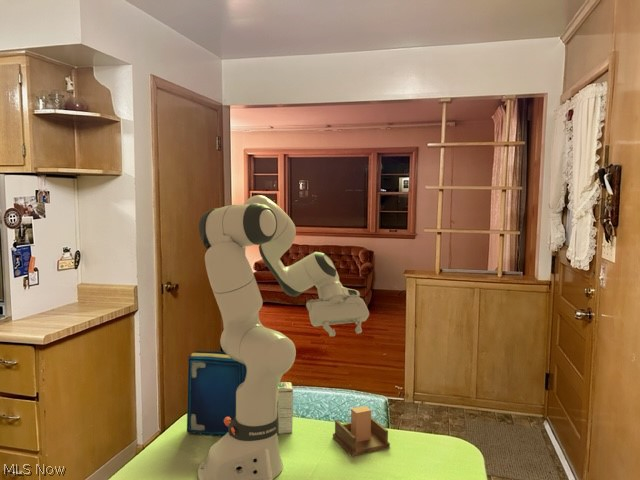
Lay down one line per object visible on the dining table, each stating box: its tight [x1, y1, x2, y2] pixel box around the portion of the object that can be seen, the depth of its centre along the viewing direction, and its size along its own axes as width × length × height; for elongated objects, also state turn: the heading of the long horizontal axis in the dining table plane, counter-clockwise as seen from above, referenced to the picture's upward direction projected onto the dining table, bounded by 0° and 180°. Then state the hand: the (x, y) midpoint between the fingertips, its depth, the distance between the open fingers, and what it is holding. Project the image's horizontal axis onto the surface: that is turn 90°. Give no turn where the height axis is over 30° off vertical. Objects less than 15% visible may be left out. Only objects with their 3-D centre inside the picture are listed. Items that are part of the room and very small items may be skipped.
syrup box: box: [277, 381, 294, 435], centre depth 144 cm, size 6×6×14 cm
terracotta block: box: [350, 405, 372, 442], centre depth 136 cm, size 5×3×9 cm
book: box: [186, 350, 247, 437], centre depth 142 cm, size 22×7×25 cm, turn 84°
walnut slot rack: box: [332, 416, 391, 457], centre depth 136 cm, size 13×12×5 cm
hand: (346, 334), depth 142 cm, fingers open, 8 cm apart
